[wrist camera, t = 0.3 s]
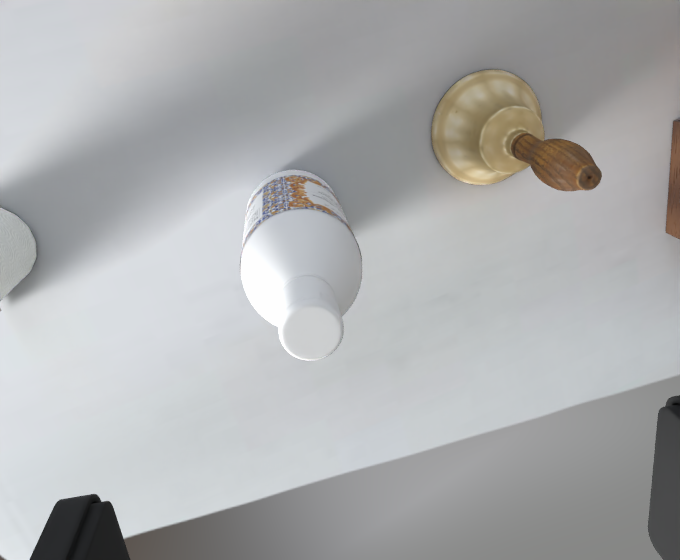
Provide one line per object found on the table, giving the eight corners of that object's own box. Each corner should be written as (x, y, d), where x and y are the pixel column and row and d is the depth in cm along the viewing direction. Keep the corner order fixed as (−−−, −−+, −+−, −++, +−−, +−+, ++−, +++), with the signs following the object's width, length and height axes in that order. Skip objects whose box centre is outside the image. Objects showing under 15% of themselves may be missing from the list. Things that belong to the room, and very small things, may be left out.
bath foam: (358, 209, 46) (420, 323, 28) (298, 275, 47) (318, 425, 29) (288, 148, 44) (305, 227, 25) (227, 218, 45) (200, 343, 27)
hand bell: (527, 188, 47) (646, 257, 32) (422, 180, 46) (496, 247, 31) (551, 75, 44) (695, 94, 29) (440, 63, 43) (532, 76, 28)
